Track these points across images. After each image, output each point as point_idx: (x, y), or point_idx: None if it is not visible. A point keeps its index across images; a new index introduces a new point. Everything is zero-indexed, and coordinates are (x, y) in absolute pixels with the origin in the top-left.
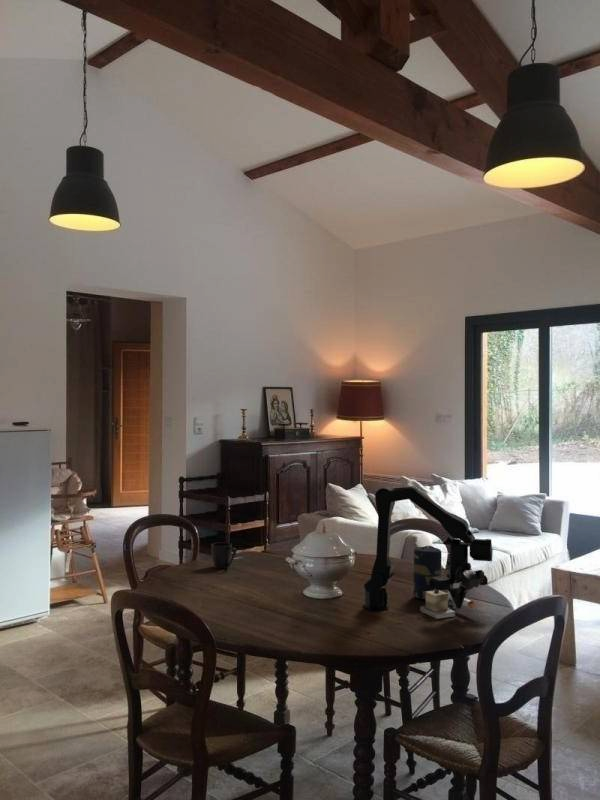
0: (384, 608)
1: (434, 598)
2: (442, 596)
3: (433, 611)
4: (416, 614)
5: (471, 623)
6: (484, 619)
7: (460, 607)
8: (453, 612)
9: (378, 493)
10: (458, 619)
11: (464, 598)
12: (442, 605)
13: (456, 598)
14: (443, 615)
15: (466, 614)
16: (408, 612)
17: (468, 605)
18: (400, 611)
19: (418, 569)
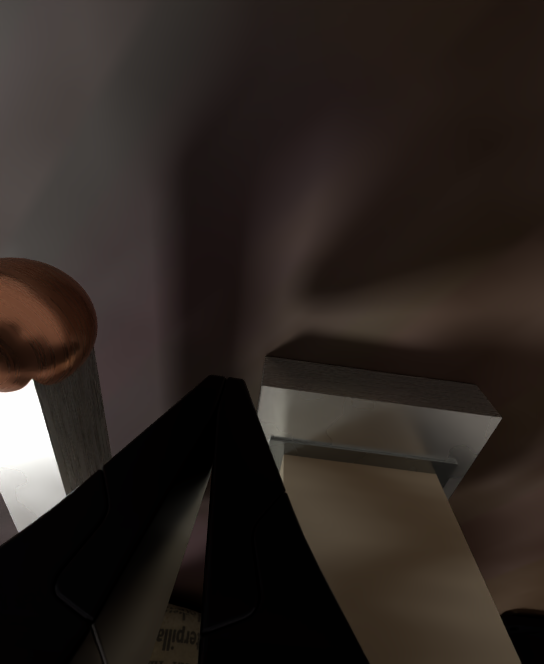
0: (540, 624)
1: (506, 635)
2: (379, 639)
3: (449, 474)
4: (478, 512)
5: (294, 43)
6: (8, 94)
7: (211, 380)
8: (285, 384)
9: None
10: (309, 273)
11: (23, 509)
12: (353, 506)
13: (290, 519)
14: (407, 390)
15: (122, 345)
16: (476, 550)
17: (92, 336)
18: (494, 574)
19: None
